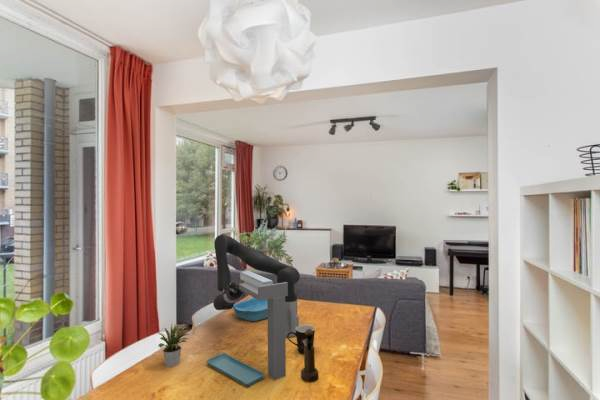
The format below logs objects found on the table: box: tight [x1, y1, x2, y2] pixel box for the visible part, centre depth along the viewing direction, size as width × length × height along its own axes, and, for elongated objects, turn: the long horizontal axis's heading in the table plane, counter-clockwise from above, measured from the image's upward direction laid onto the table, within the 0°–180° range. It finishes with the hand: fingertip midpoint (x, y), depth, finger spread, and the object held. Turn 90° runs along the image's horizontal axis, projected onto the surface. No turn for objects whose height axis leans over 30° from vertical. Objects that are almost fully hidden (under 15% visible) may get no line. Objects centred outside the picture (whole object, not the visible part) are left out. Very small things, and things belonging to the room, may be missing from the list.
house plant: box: [157, 322, 189, 368], centre depth 130 cm, size 14×14×16 cm
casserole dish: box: [232, 297, 268, 322], centre depth 194 cm, size 37×22×7 cm, turn 144°
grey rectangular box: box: [239, 270, 274, 288], centre depth 134 cm, size 24×4×3 cm, turn 32°
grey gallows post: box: [239, 282, 288, 381], centre depth 128 cm, size 20×12×35 cm, turn 32°
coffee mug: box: [286, 324, 316, 356], centre depth 142 cm, size 12×9×10 cm
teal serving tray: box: [205, 352, 266, 388], centre depth 125 cm, size 26×9×2 cm, turn 49°
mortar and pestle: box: [300, 329, 319, 383], centre depth 120 cm, size 7×6×18 cm
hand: (243, 282), depth 145 cm, fingers open, 8 cm apart
